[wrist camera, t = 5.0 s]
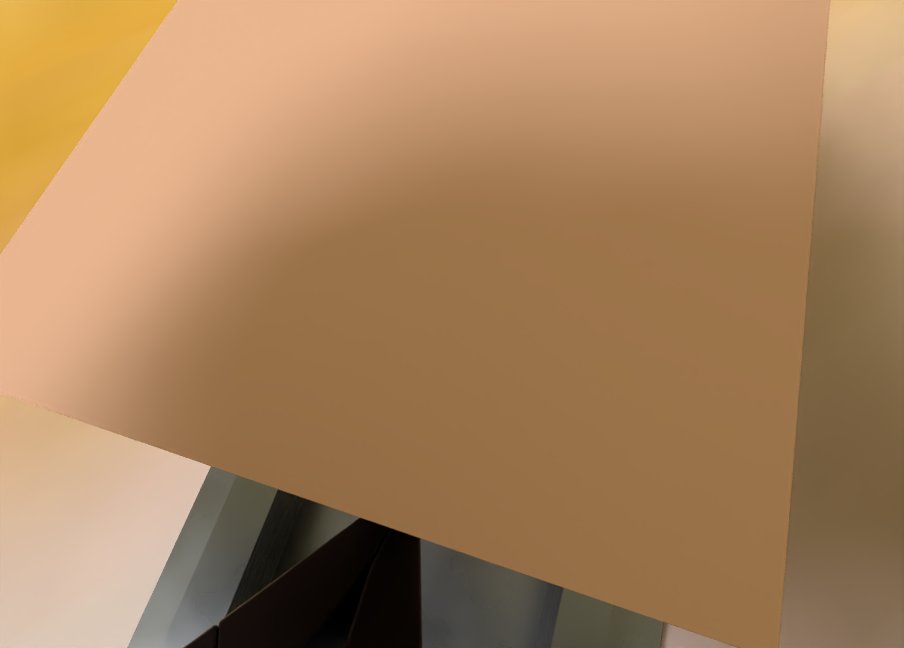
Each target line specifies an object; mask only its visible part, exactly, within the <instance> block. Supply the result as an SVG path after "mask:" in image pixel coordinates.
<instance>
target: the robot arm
mask: <svg viewBox="0 0 904 648" xmlns="http://www.w3.org/2000/svg"><path fill="white" fill-rule="evenodd" d="M183 648H422V588H421V538H418V537H416V536H413V535H410V534H407V533H404V532H401V531H398V530H395V529H392V528H389V527H387V526H384V525H381V524H378V523H375V522H372V521H369V520H366V519H363V518H358V519H357V520H356V521H354V522H353V523H352V524H350V525H349V526H347V527H346V528H345V529H343V530H342V531H341V532H339V533H338V534H337V535H335V536H334V537H333V538H331V539H330V540H329V541H327V542H326V543H324V544H323V545H322V546H320V547H319V548H318V549H316V550H315V551H314V552H312V553H311V554H310V555H308V556H307V557H306V558H304V559H303V560H302V561H300V562H299V563H297V564H296V565H295V566H293V567H292V568H291V569H289V570H288V571H287V572H285V573H284V574H283V575H281V576H280V577H279V578H277V579H276V580H274V581H273V582H272V583H270V584H269V585H268V586H266V587H265V588H264V589H262V590H261V591H260V592H258V593H257V594H256V595H254V596H253V597H251V598H250V599H249V600H247V601H246V602H245V603H243V604H242V605H241V606H239V607H238V608H237V609H235V610H234V611H233V612H231V613H230V614H229V615H227V616H226V617H224V618H223V619H222V620H220V621H219V623H218V626H217V625H213V626H212V627H211V628H209V629H208V630H207V631H205V632H204V633H202V634H201V635H200V636H198V637H197V638H196V639H194V640H193V641H192V642H190V643H189V644H187V645H186V646H185V647H183Z"/></svg>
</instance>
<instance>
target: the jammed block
mask: <svg viewBox="0 0 904 648" xmlns="http://www.w3.org/2000/svg"><path fill="white" fill-rule="evenodd" d="M829 9H830V0H178V1H177V2H176V4H175V5H174V7H173V8H172V9H171V11H170V12H169V14H168V15H167V17H166V18H165V19H164V21H163V22H162V24H161V25H160V27H159V28H158V30H157V31H156V32H155V34H154V35H153V37H152V38H151V40H150V41H149V42H148V44H147V45H146V47H145V48H144V50H143V51H142V52H141V54H140V55H139V57H138V58H137V60H136V61H135V62H134V64H133V65H132V67H131V68H130V70H129V71H128V72H127V74H126V75H125V77H124V78H123V80H122V81H121V83H120V84H119V85H118V87H117V88H116V90H115V91H114V93H113V94H112V95H111V97H110V98H109V100H108V101H107V103H106V104H105V105H104V107H103V108H102V110H101V111H100V113H99V114H98V115H97V117H96V118H95V120H94V121H93V123H92V124H91V126H90V127H89V128H88V130H87V131H86V133H85V134H84V136H83V137H82V138H81V140H80V141H79V143H78V144H77V146H76V147H75V148H74V150H73V151H72V153H71V154H70V156H69V157H68V158H67V160H66V161H65V163H64V164H63V166H62V167H61V168H60V170H59V171H58V173H57V174H56V176H55V177H54V179H53V180H52V181H51V183H50V184H49V186H48V187H47V189H46V190H45V191H44V193H43V194H42V196H41V197H40V199H39V200H38V201H37V203H36V204H35V206H34V207H33V209H32V210H31V211H30V213H29V214H28V216H27V217H26V219H25V220H24V222H23V223H22V224H21V226H20V227H19V229H18V230H17V232H16V233H15V234H14V236H13V237H12V239H11V240H10V242H9V243H8V244H7V246H6V247H5V249H4V250H3V252H2V253H1V254H0V393H1V394H3V395H6V396H9V397H12V398H15V399H18V400H21V401H24V402H27V403H30V404H33V405H35V406H38V407H41V408H44V409H47V410H50V411H53V412H56V413H59V414H62V415H64V416H67V417H70V418H73V419H76V420H79V421H82V422H85V423H88V424H91V425H93V426H96V427H99V428H102V429H105V430H108V431H111V432H114V433H117V434H120V435H122V436H125V437H128V438H131V439H134V440H137V441H140V442H143V443H146V444H149V445H151V446H154V447H157V448H160V449H163V450H166V451H169V452H172V453H175V454H178V455H180V456H183V457H186V458H189V459H192V460H195V461H198V462H201V463H204V464H207V465H210V466H212V467H215V468H218V469H221V470H224V471H227V472H230V473H233V474H236V475H239V476H241V477H244V478H247V479H250V480H253V481H256V482H259V483H262V484H265V485H268V486H270V487H273V488H276V489H279V490H282V491H285V492H288V493H291V494H294V495H297V496H299V497H302V498H305V499H308V500H311V501H314V502H317V503H320V504H323V505H326V506H329V507H331V508H334V509H337V510H340V511H343V512H346V513H349V514H352V515H355V516H358V517H360V518H363V519H366V520H369V521H372V522H375V523H378V524H381V525H384V526H387V527H389V528H392V529H395V530H398V531H401V532H404V533H407V534H410V535H413V536H416V537H418V538H421V539H424V540H427V541H430V542H433V543H436V544H439V545H442V546H445V547H447V548H450V549H453V550H456V551H459V552H462V553H465V554H468V555H471V556H474V557H476V558H479V559H482V560H485V561H488V562H491V563H494V564H497V565H500V566H503V567H506V568H508V569H511V570H514V571H517V572H520V573H523V574H526V575H529V576H532V577H535V578H537V579H540V580H543V581H546V582H549V583H552V584H555V585H558V586H561V587H564V588H566V589H569V590H572V591H575V592H578V593H581V594H584V595H587V596H590V597H593V598H595V599H598V600H601V601H604V602H607V603H610V604H613V605H616V606H619V607H622V608H625V609H627V610H630V611H633V612H636V613H639V614H642V615H645V616H648V617H651V618H654V619H656V620H659V621H662V622H665V623H668V624H671V625H674V626H677V627H680V628H683V629H685V630H688V631H691V632H694V633H697V634H700V635H703V636H706V637H709V638H712V639H714V640H717V641H720V642H723V643H726V644H729V645H732V646H735V647H738V648H779V640H780V627H781V615H782V602H783V590H784V577H785V564H786V552H787V539H788V527H789V514H790V501H791V489H792V476H793V463H794V451H795V438H796V426H797V413H798V400H799V388H800V375H801V362H802V350H803V337H804V325H805V312H806V299H807V287H808V274H809V261H810V249H811V236H812V224H813V211H814V198H815V186H816V173H817V161H818V148H819V135H820V123H821V110H822V97H823V85H824V72H825V60H826V47H827V34H828V22H829Z"/></svg>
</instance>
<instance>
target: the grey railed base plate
mask: <svg viewBox="0 0 904 648" xmlns="http://www.w3.org/2000/svg"><path fill="white" fill-rule="evenodd" d="M358 518H360V517H358V516H355V515H352V514H349V513H346V512H343V511H340V510H337V509H334V508H331V507H329V506H326V505H323V504H320V503H317V502H314V501H311V500H308V499H305V498H302V497H299V496H297V495H294V494H291V493H288V492H285V491H282V490H279V489H276V488H273V487H270V486H268V485H265V484H262V483H259V482H256V481H253V480H250V479H247V478H244V477H241V476H239V475H236V474H233V473H230V472H227V471H224V470H221V469H218V468H215V467H212V466H211V468H210V470H209V472H208V474H207V476H206V479H205V481H204V483H203V485H202V487H201V489H200V492H199V494H198V496H197V498H196V500H195V502H194V505H193V507H192V509H191V511H190V513H189V515H188V518H187V520H186V522H185V524H184V526H183V528H182V530H181V533H180V535H179V537H178V539H177V541H176V543H175V546H174V548H173V550H172V552H171V554H170V556H169V559H168V561H167V563H166V565H165V567H164V569H163V572H162V574H161V576H160V578H159V580H158V582H157V585H156V587H155V589H154V591H153V593H152V595H151V598H150V600H149V602H148V604H147V606H146V608H145V611H144V613H143V615H142V617H141V619H140V621H139V624H138V626H137V628H136V630H135V632H134V634H133V637H132V639H131V641H130V643H129V645H128V647H127V648H183V647H185V646H186V645H187V644H189V643H190V642H192V641H193V640H194V639H196V638H197V637H198V636H200V635H201V634H202V633H204V632H205V631H207V630H208V629H209V628H211V627H212V626H213V625H217V626H218V623H219V621H220V620H222V619H223V618H224V617H226V616H227V615H229V614H230V613H231V612H233V611H234V610H235V609H237V608H238V607H239V606H241V605H242V604H243V603H245V602H246V601H247V600H249V599H250V598H251V597H253V596H254V595H256V594H257V593H258V592H260V591H261V590H262V589H264V588H265V587H266V586H268V585H269V584H270V583H272V582H273V581H274V580H276V579H277V578H279V577H280V576H281V575H283V574H284V573H285V572H287V571H288V570H289V569H291V568H292V567H293V566H295V565H296V564H297V563H299V562H300V561H302V560H303V559H304V558H306V557H307V556H308V555H310V554H311V553H312V552H314V551H315V550H316V549H318V548H319V547H320V546H322V545H323V544H324V543H326V542H327V541H329V540H330V539H331V538H333V537H334V536H335V535H337V534H338V533H339V532H341V531H342V530H343V529H345V528H346V527H347V526H349V525H350V524H352V523H353V522H354V521H356V520H357V519H358ZM421 588H422V648H660V643H661V636H662V629H663V623H664V622H662V621H659V620H656V619H654V618H651V617H648V616H645V615H642V614H639V613H636V612H633V611H630V610H627V609H625V608H622V607H619V606H616V605H613V604H610V603H607V602H604V601H601V600H598V599H595V598H593V597H590V596H587V595H584V594H581V593H578V592H575V591H572V590H569V589H566V588H564V587H561V586H558V585H555V584H552V583H549V582H546V581H543V580H540V579H537V578H535V577H532V576H529V575H526V574H523V573H520V572H517V571H514V570H511V569H508V568H506V567H503V566H500V565H497V564H494V563H491V562H488V561H485V560H482V559H479V558H476V557H474V556H471V555H468V554H465V553H462V552H459V551H456V550H453V549H450V548H447V547H445V546H442V545H439V544H436V543H433V542H430V541H427V540H424V539H421Z"/></svg>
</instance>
